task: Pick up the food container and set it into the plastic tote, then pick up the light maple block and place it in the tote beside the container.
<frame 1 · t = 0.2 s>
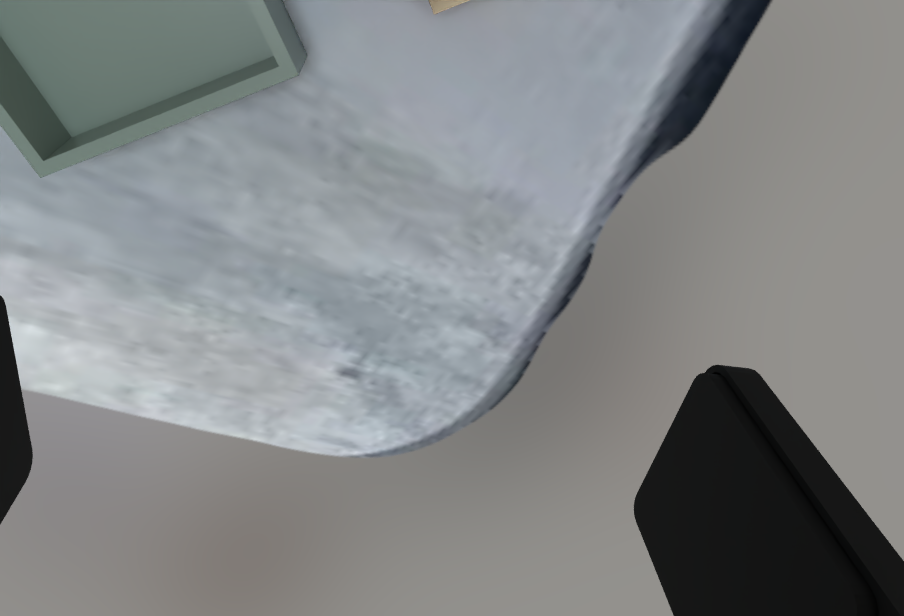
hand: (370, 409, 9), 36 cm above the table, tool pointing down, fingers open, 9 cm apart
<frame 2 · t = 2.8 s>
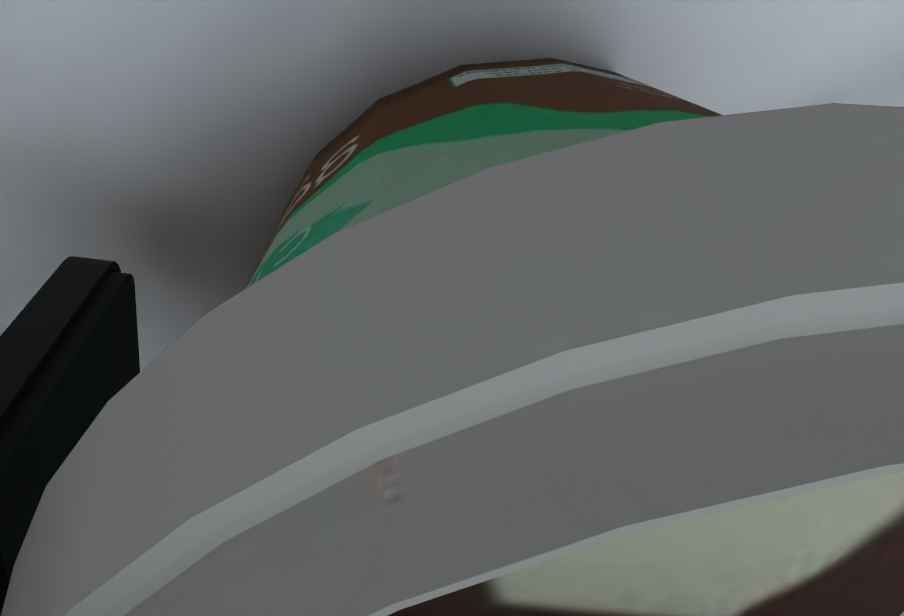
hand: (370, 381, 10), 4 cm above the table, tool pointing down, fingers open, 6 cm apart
food container: (374, 256, 13), on the table, touching gripper
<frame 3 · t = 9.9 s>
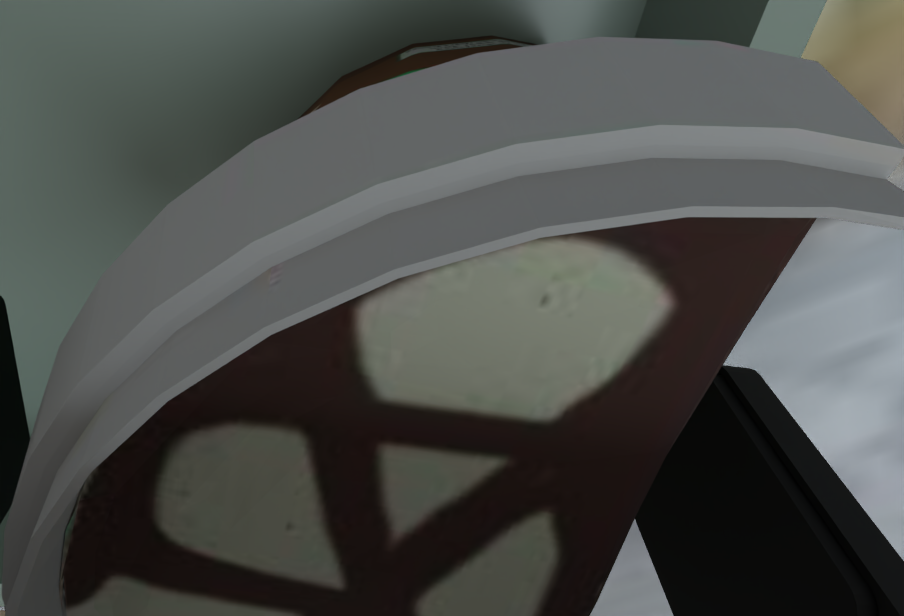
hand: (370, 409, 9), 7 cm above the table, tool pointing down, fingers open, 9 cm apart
tote: (169, 173, 14), on the table
food container: (346, 219, 15), point 1 cm above the table, touching tote
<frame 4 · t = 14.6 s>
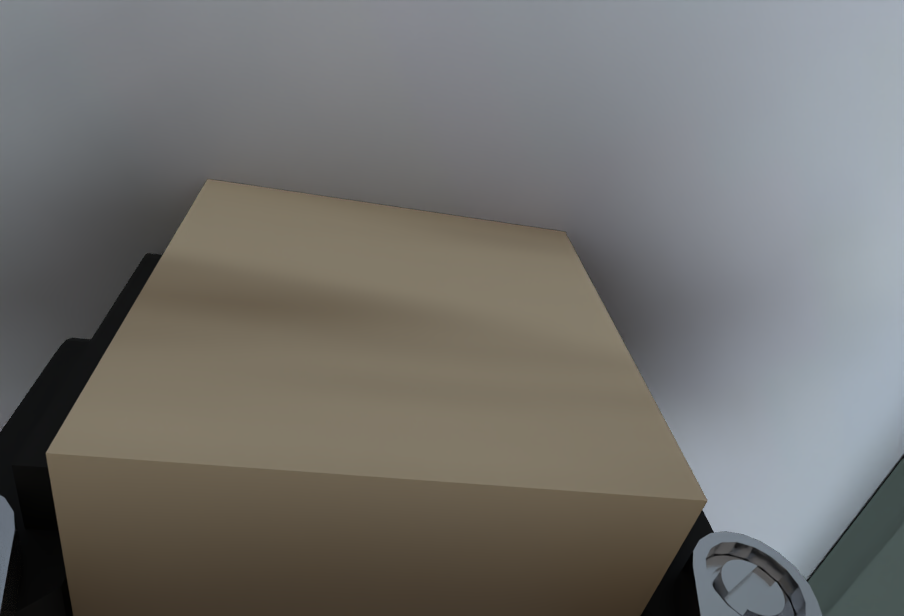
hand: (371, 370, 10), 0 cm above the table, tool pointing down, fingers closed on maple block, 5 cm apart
maple block: (371, 350, 10), on the table, touching gripper
when the fingers open (3 cm above the table, at t = 20.6 s): maple block drops 1 cm, resting on tote.
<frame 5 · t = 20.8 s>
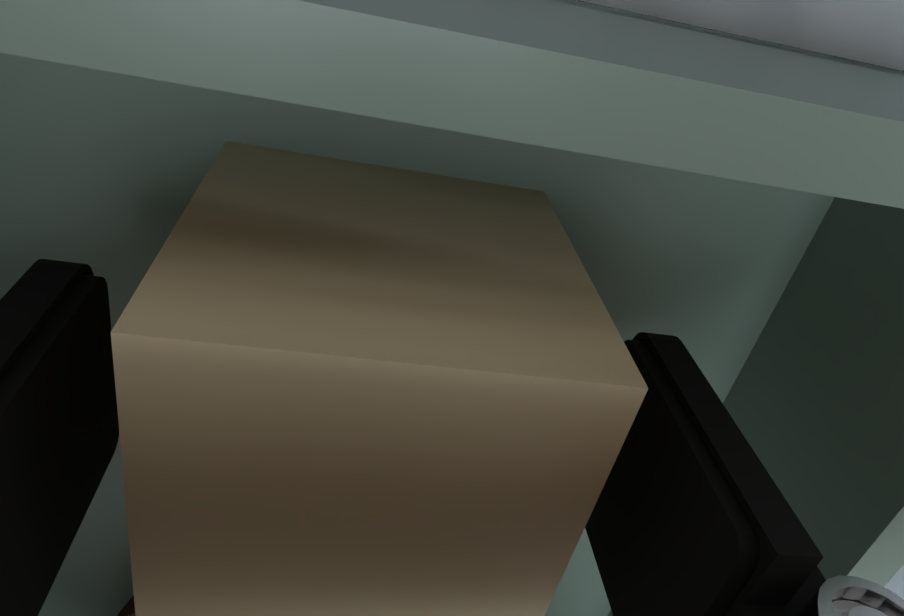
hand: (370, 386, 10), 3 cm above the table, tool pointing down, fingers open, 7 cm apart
tote: (345, 453, 15), on the table
maple block: (370, 301, 12), point 1 cm above the table, touching tote
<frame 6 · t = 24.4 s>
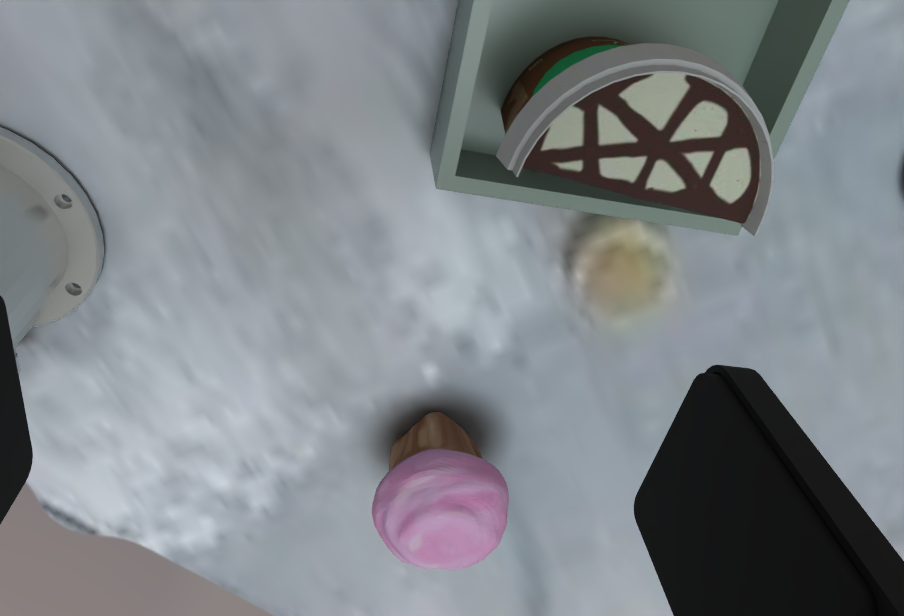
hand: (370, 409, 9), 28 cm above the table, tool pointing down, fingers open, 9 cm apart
cupcake: (434, 435, 48), on the table
food container: (601, 75, 34), point 1 cm above the table, touching tote
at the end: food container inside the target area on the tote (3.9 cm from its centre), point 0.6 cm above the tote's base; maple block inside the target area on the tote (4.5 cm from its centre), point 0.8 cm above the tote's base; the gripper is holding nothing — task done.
